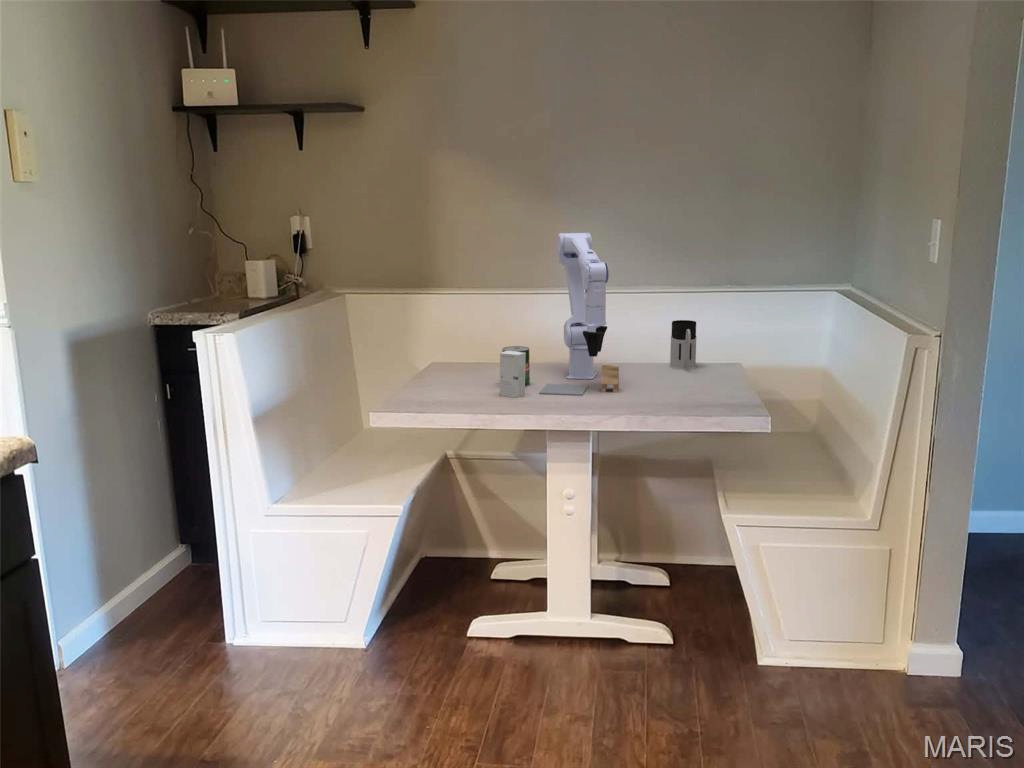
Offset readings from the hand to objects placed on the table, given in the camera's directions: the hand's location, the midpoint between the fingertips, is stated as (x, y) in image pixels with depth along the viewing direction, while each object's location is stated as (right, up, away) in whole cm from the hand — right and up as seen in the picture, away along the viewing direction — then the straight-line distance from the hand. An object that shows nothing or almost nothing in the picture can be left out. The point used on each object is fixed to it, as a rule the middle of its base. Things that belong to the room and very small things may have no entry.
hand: (595, 353), depth 241 cm
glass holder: (+30, -5, +25) cm, 40 cm away
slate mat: (-9, -10, -1) cm, 14 cm away
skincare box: (-23, -12, -6) cm, 27 cm away
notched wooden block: (+4, -11, -2) cm, 11 cm away
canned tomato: (-22, -9, +7) cm, 25 cm away
